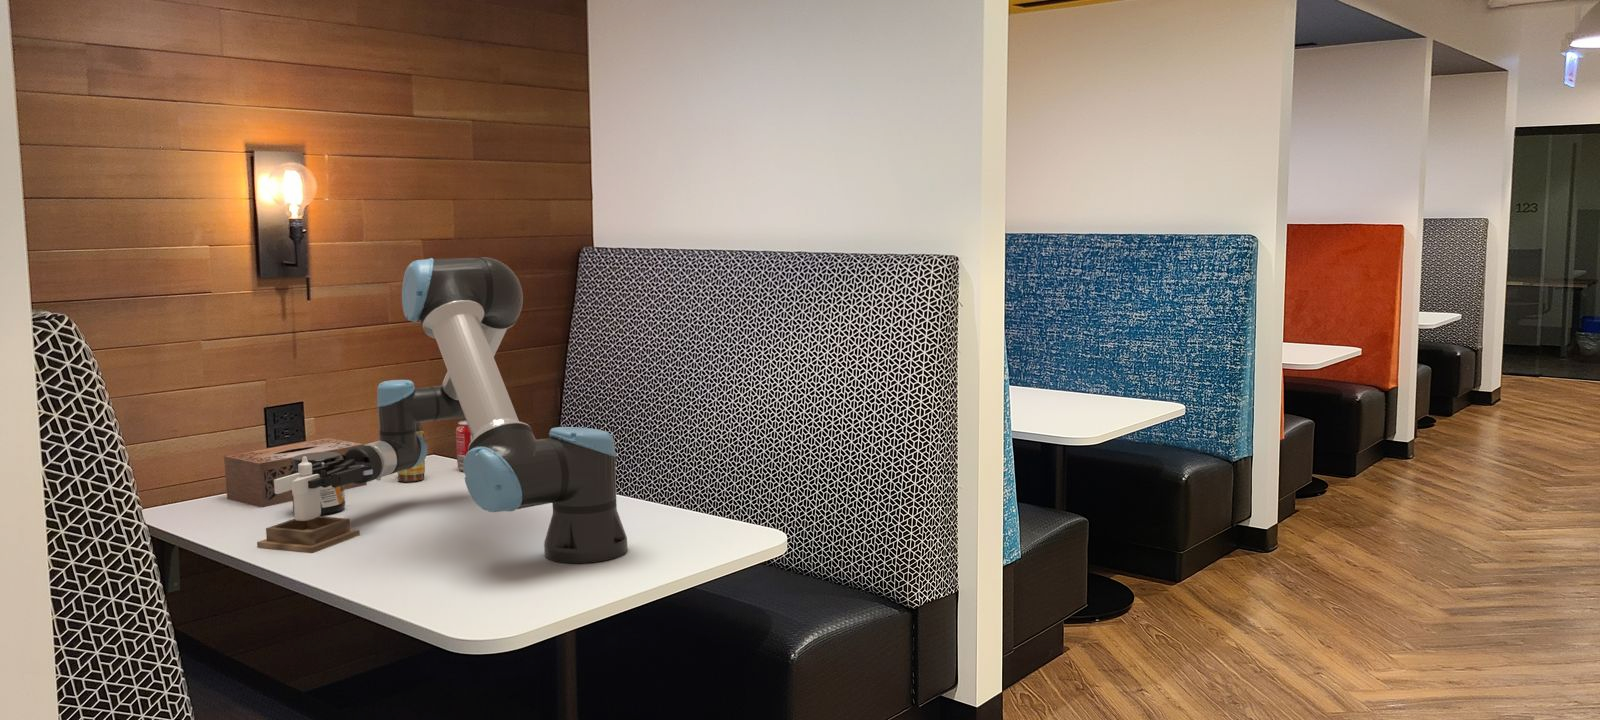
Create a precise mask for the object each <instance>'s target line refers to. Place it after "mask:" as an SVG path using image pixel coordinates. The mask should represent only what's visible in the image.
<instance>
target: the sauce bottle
mask: <svg viewBox="0 0 1600 720" xmlns="http://www.w3.org/2000/svg"><path fill="white" fill-rule="evenodd" d="M416 433H417V434H419V435H421V436H422V437H423V438H424V439H425V431H424V428H423V425H422V422H420V423H416ZM425 460H426V459H425ZM425 460H424V461H423V462H422V463H421V464H419V465H417V466H415V467H413V468H411V469H409V470H404V471H400V472H397V473H396V474H397V479H398V481H399V482H403V483H412V482H413V483H414V482H420V481H422V480H424V479H425V472H426V467H425V466H426V464H425V463H426V461H425Z"/></svg>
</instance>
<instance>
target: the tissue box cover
mask: <svg viewBox="0 0 1600 720" xmlns="http://www.w3.org/2000/svg"><path fill="white" fill-rule="evenodd" d="M363 445H365V444H364V443H359V442H355V441H354V442H353V441H350V440H341V439H335V438H331V437H330V438H329V437H328V438H320V439H317V440H310V441H305V442H303V441H302V442H298V443H293V444H287V445H280V446H276V447H270V448H269V447H268V448H262V449H257V450H252V451H247V452H241V453H236V454H235V453H234V454H229V455H224V456H223V459H224V473H225V476H224V477H225V487H226V488H225V489H226V499H227V500H230V501H232V502H233V501H234V502H239V503H243V504H246V505H251V506H256V507H257V508H258V507H259V508H266V507H271V506H276V505H281V504H284V503H290V502H293V498H292V490H290V491H286V492H283V493H280V494H275V488H274V480H275V479H278V478H282V477H285V476H289V475H290V474H291V471H293V470H294V468H293V467H292V458H293V457H295V456H297V455H301V454H306V453H314V452H335V453H339V454H340V459H342V458H343V456H344V454H345V453H346V452H347V451H348V450H350V449H352V448H355V447H359V446H363ZM367 483H368V482H366V483H363V484H355V483H353V482H352V483H349V484H345V485H344V491H346V490H349V489H354V488H358V487H364V486H367Z"/></svg>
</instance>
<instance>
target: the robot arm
mask: <svg viewBox="0 0 1600 720" xmlns="http://www.w3.org/2000/svg"><path fill="white" fill-rule="evenodd" d="M403 275H404V276H403V280H402V287H401V288H402V289H401V303H402V305H401V306H402V310H403V311H402V312H403V315H404V317H405V318H406V320H407V321H409V322H413V323H418V322H420V324H421V327H422V330H423V332H424V334H426V336H428V337H429V338H432V339H434V340H436V343H437V346H438V349H439V352H440V354H441V356H442V357H441V358H442V359H443V363H444V364H445V367H446V370H447V372H446V373H445V376H444V379H443V381H442V382H441V384H440V385H433V386H423V387H415V383H414V381H412V380H410V379H390V380H385V381H382V382H380V383H379V384H378V386H377V391H376V395H377V396H376V397H377V398H376V399H377V402H376V406H377V415H378V416H377V418H378V429H379V430H378V432H379V435H378V436H379V440H377V441H374V442H370V443H366V444H364V445H363V446H359V447H355V448H352V449H350V450H348V451H347V452H346V453H345V454H344V456H343V458H342V459H337V460H335V461H333V462H329V463H324V462H323V461H319V462H317V463H315V464H312V475H311V476H308V477H304V478H301V479H297V480H295V479H296V478H297V477H298V476H299V471H298V469H296V470H293V471H291V475H289V476H285V477H282V478H278V479H275V480H274V488H275V494H280V493H283V492H286V491H290V490H292V495H295V496H296V495H299V494H302V493H305V492H309V491H312V490H315V489H318V488H320V486H322V487H324V488H326V487H328V486H331V485H332V487H334V488H336V487H338V486H342V485H345V484H349V483H352V482H353V483H355V484H363V483H366V482H367V483H369V482H372V481H375V480H376V481H381V479H382V478H384V477H386V476H387V477H388V476H389V475H393V474H398V473H397V472H400V471H404V470H409V469H411V468H413V467H415V466H417V465H419V464H421V463H422V462H423V461H424V460H426V458H427V454H428V444H427V443H426V441H425V437H424V438H423V437H422V436H421V435H419V434H417V433H416V423H427V422H435V421H443V420H452V419H464V418H465V419H464V420H465V421H467V424H468V427H469V429H470V432H471V435H472V437H473V439H472V441H471V442H470V444H469V446H468V452H467V454H466V456H465V458H464V463H463V471H462V472H463V473H464V475H465V477H464V481H465V485H466V488H467V490H468V493H469V495H470V497H471V498H472V500H473V501H474V503H475V504H476V506H478V507H479V508H481V509H482V510H485V511H487V512H488V513H498V512H514V511H515V510H521V509H526V508H530V507H531V508H532V507H536V506H543V505H549V504H552V515H551V517H550V522H549V525H548V529H547V532H546V535H545V540H544V543H543V545H544V546H543V547H544V556H545V558H547V559H549V560H551V561H554V562H560V563H568V564H587V563H597V562H604V561H608V560H612V559H615V558H618V557H620V556H623V555H624V554H626V553H627V551H628V537H627V534H626V531H625V528H624V526H623V524H622V521H621V517H620V514H619V512H618V508H617V482H616V481H617V475H616V474H617V473H616V458H617V454H616V446H615V440H614V437H613V435H612V434H611V433H610V432H608V431H605V430H602V429H596V428H589V427H578V426H577V427H573V426H558V427H557V426H556V427H552V428H551V429H550V430H549V433H548V436H549V437H548V438H540V439H537V438H536V437H535V435H534V433H533V431H532V430H533V429H532V427H531V426H530V425H529V424H527V423H526V422H523V421H519V418H518V416H517V413H516V409H515V408H514V405H513V403H512V400H511V398H510V395H509V392H508V390H507V388H506V385H505V383H504V380H503V377H502V375H501V372H500V370H499V368H498V365H497V362H496V360H495V355H496V353H497V351H498V349H499V346H500V345H501V343H502V340H504V339H503V338H504V336H505V334H506V332H507V330H508V329H510V328H512V327H513V326H515V324H516V323H517V321H518V318H519V317H520V314H521V311H522V309H523V305H524V304H523V303H524V296H523V295H524V293H523V289H522V286H521V283H520V280H519V278H518V276H517V275H516V274H515V271H513V270H512V268H510V267H509V266H508V265H507V264H505V263H503V262H502V261H500V260H498V259H496V258H492V257H486V256H484V257H482V256H478V257H457V258H456V257H455V258H432V257H430V258H427V259H416V260H414V261H412V262H411V263H409V264H408V265H407V268H406V269H405V272H404V274H403Z"/></svg>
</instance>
